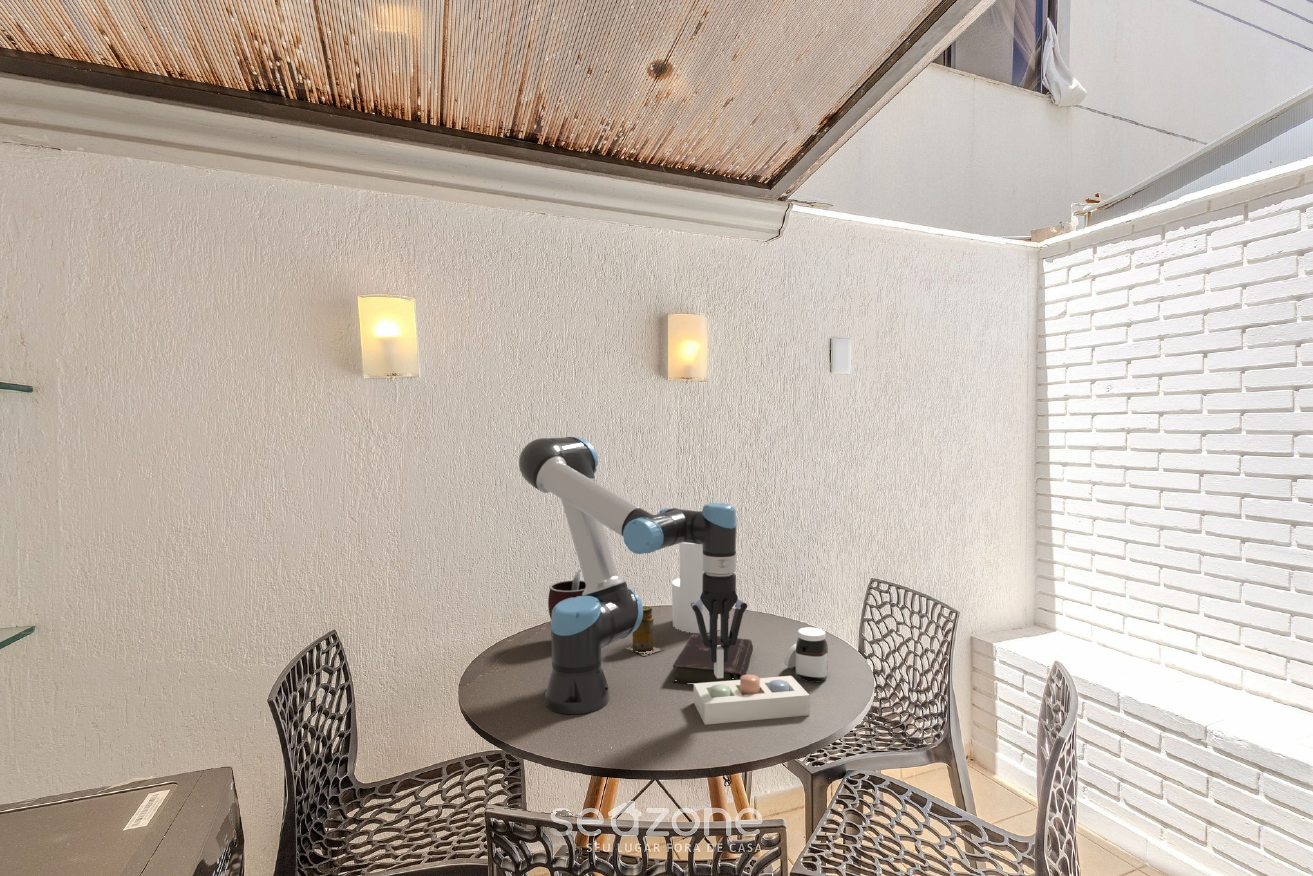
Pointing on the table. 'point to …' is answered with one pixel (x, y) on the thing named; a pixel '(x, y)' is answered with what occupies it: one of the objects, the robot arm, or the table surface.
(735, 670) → the diary
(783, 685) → the slate button
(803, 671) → the spread jar
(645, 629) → the condiment
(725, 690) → the sage button
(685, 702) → the table surface
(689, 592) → the cylinder
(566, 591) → the mate gourd
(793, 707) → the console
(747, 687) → the terracotta button
